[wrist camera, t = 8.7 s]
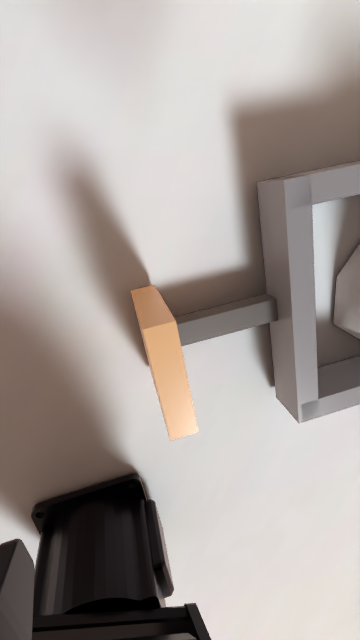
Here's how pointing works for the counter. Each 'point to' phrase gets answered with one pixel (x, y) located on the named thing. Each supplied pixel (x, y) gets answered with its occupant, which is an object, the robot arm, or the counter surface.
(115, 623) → the robot arm
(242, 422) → the counter surface
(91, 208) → the counter surface
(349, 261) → the flask
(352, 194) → the sliding frame
